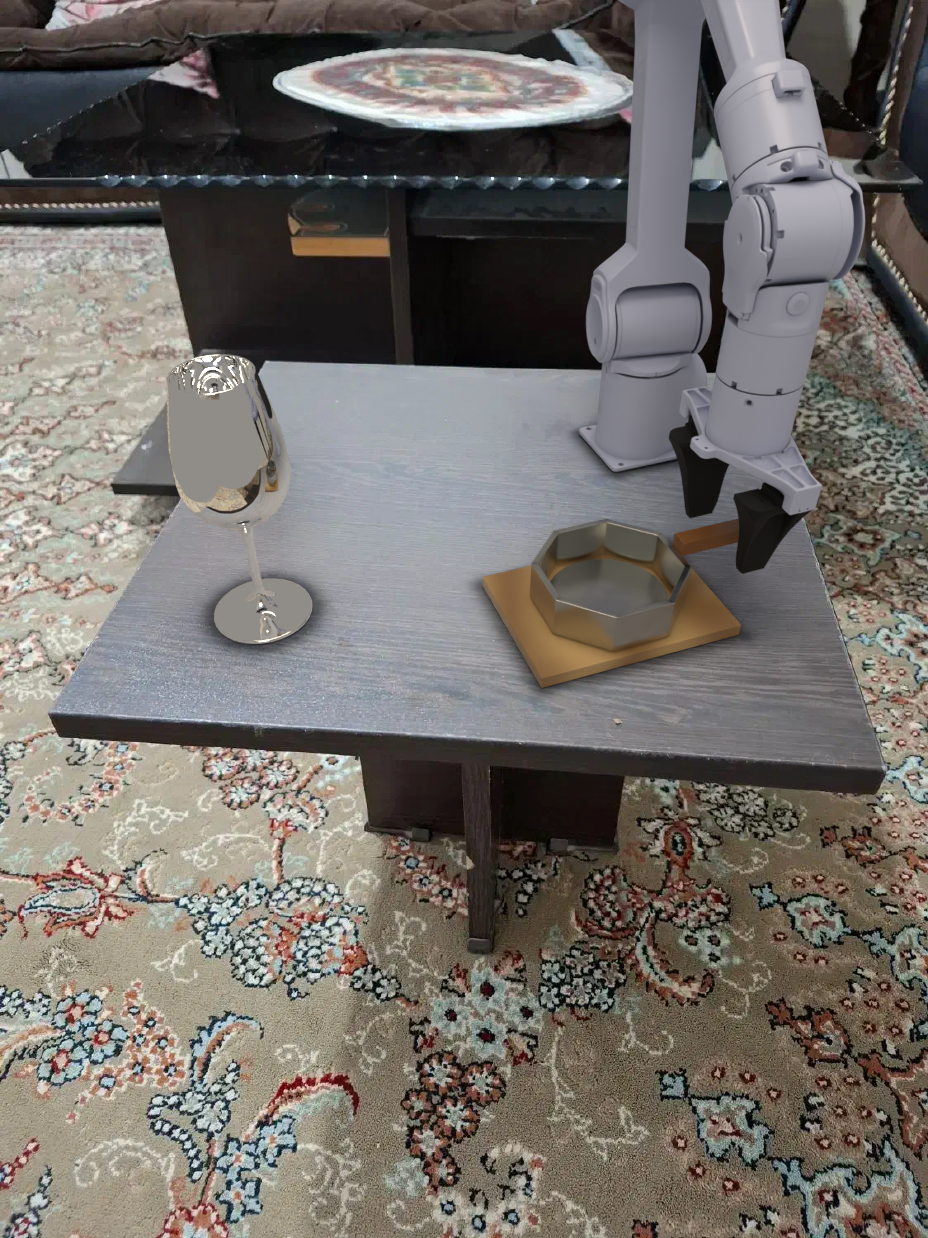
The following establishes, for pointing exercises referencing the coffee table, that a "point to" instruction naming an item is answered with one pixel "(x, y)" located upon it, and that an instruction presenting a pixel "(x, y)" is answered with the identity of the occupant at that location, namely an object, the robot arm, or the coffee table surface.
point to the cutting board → (576, 659)
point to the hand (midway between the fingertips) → (723, 539)
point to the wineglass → (234, 481)
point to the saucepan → (618, 580)
